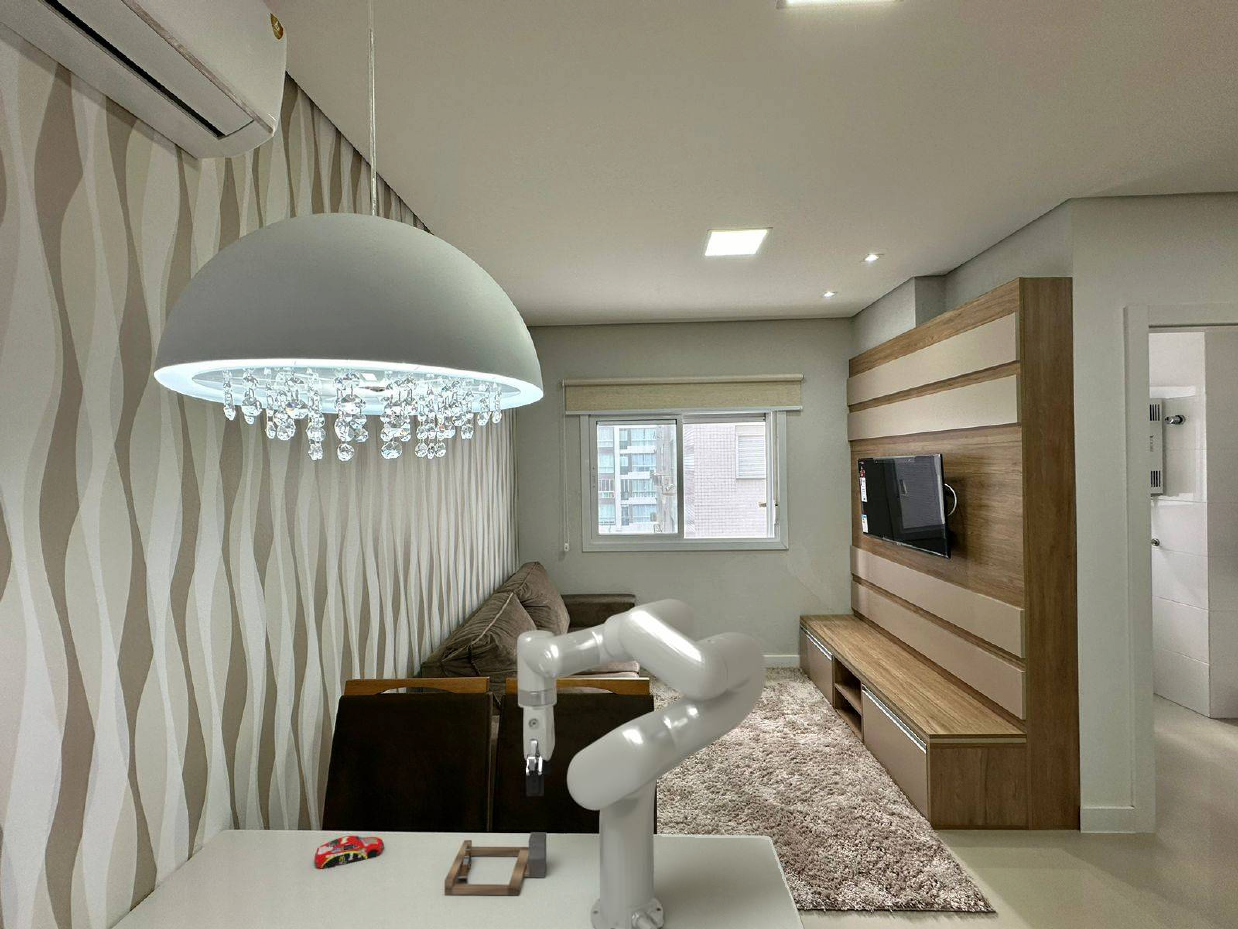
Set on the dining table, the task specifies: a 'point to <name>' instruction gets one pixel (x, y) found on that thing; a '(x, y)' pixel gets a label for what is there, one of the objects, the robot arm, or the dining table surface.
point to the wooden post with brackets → (465, 865)
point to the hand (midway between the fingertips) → (538, 784)
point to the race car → (347, 850)
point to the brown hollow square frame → (525, 854)
